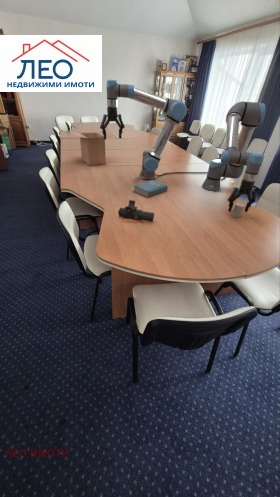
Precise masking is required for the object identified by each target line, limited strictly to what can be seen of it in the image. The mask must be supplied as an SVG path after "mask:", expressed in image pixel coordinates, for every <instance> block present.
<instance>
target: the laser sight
mask: <svg viewBox="0 0 280 497" xmlns="http://www.w3.org/2000/svg"><path fill="white" fill-rule="evenodd" d="M117 214H118V217H119V218H123V219H126V220H133V221H139V222H140V221H145V222H151V223H152V222H154V220H155V212H152V211H144V210H142V209H138V207H137V206H136V200H131V199H129V200H128V205H127V206H125V207H119V209H118V210H117Z"/></svg>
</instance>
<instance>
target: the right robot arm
mask: <svg viewBox="0 0 280 497" xmlns="http://www.w3.org/2000/svg"><path fill="white" fill-rule="evenodd" d="M265 115H266V104H265V103H263V102H256V101H244V100H243V101H242V100H241V101H239V102H236V103H235V104H233V105H232V106H231V107H230V108H229V109H228V111H227V113H226V115H225V123H226V132H225V142H224V144H225V145H224V150H222V151H221V154H220V158H217V159H216V158H215V159H212V160H211V161H210V162H209V164H208V165H209V166H208V168H207V172H208V173H206V177H205V180H204V181H203V182H202V186H201V187H202V189H204V190H207V191H210V192H218V191H220V189H221V181H223V180H224V179H227V178H228V179H236V180H237V179H240V177H241V176H242V174H243V176H242V179H241V182H240V186H239V187H238V186H235V187H234V188H233V191H232V192H231V193H230V195H229V197H228V198H227V202H228V209H227V210H228V212H229V213H232V211H233V208H234V207H233V206H234V205H235V204H234V202H235V201H236V200H237V199H238V198H239V197H240V196H242V195H246V196H247V200H248V201H247V202H246V205H245V206H244V209H243V212H245V213H248V211H249V208H251V206H252V205H253V204H254V203H256V197H257V196H256V195H257V194H256V193H257V191H258V190H257V188H256V187H254V185H255V183H256V180H257V177H258V174H259V172H260V169H261V167H262V164H263V162H264V159H265V155H264V154H263V153H261V152H253V151H248V152H247V150H248V147H249V144H250V141H251V139H252V136H253V133H254V130H255V129H256V128H258V126H259V124H263V121H264V119H265ZM240 125H241V128H239V127H240ZM239 129H240V130H239ZM245 166H246V168H245ZM243 172H244V173H243Z"/></svg>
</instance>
